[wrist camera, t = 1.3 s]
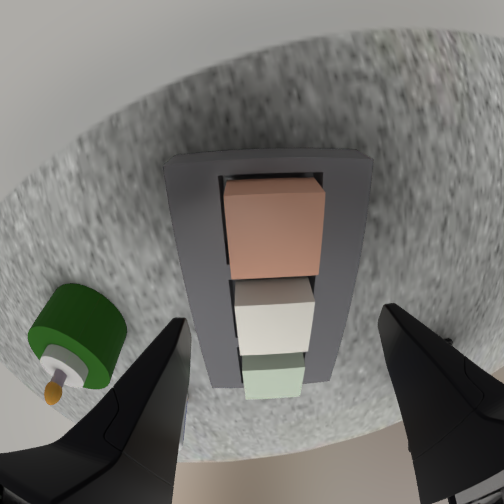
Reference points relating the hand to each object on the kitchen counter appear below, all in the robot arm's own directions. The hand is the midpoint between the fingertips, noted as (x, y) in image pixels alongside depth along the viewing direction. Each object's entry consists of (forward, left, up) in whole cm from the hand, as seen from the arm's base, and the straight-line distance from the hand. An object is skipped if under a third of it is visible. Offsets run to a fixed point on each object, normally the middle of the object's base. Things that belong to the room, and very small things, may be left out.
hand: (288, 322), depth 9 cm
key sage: (0, +13, -8) cm, 15 cm away
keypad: (0, +6, -10) cm, 12 cm away
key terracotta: (0, 0, -8) cm, 8 cm away
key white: (0, +6, -8) cm, 10 cm away
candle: (+17, +10, -10) cm, 22 cm away
